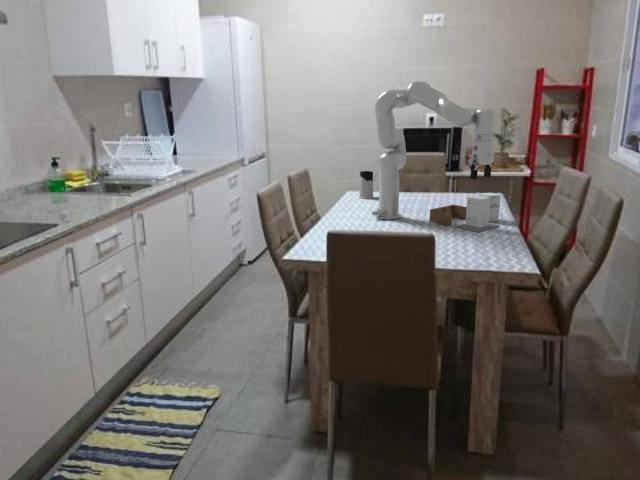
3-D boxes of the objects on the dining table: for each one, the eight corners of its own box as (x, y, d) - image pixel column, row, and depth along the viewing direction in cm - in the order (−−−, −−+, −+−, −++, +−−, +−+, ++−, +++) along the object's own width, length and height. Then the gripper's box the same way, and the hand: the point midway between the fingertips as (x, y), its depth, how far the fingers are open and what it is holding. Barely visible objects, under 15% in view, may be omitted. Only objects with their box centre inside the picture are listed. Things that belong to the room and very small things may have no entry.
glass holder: (355, 197, 310) (356, 171, 306) (376, 194, 316) (376, 169, 312) (363, 199, 302) (364, 173, 298) (384, 197, 309) (384, 171, 305)
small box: (488, 226, 236) (491, 197, 233) (480, 228, 233) (482, 199, 229) (473, 222, 242) (475, 195, 239) (465, 225, 239) (466, 196, 235)
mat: (477, 232, 228) (477, 231, 228) (455, 227, 237) (455, 226, 237) (499, 226, 238) (499, 225, 237) (476, 222, 247) (476, 220, 247)
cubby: (449, 226, 239) (450, 213, 237) (429, 221, 248) (430, 209, 246) (473, 220, 249) (473, 208, 247) (452, 216, 258) (453, 204, 256)
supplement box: (484, 222, 246) (486, 195, 242) (476, 219, 253) (478, 193, 249) (498, 221, 248) (501, 194, 244) (489, 218, 255) (491, 192, 251)
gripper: (478, 140, 219) (475, 180, 224) (502, 137, 229) (499, 176, 234) (463, 138, 225) (461, 178, 229) (487, 136, 235) (485, 175, 240)
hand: (480, 177), depth 232 cm, fingers open, 9 cm apart
